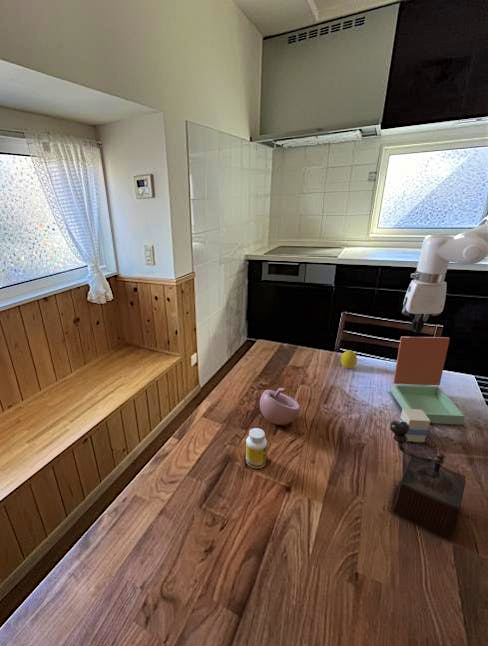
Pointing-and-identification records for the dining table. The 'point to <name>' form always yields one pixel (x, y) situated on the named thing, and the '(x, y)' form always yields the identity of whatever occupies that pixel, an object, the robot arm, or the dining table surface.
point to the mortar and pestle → (278, 407)
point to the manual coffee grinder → (427, 489)
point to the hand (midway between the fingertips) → (415, 331)
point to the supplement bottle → (256, 448)
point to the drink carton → (415, 424)
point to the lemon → (348, 359)
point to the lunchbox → (428, 403)
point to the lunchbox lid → (421, 360)
